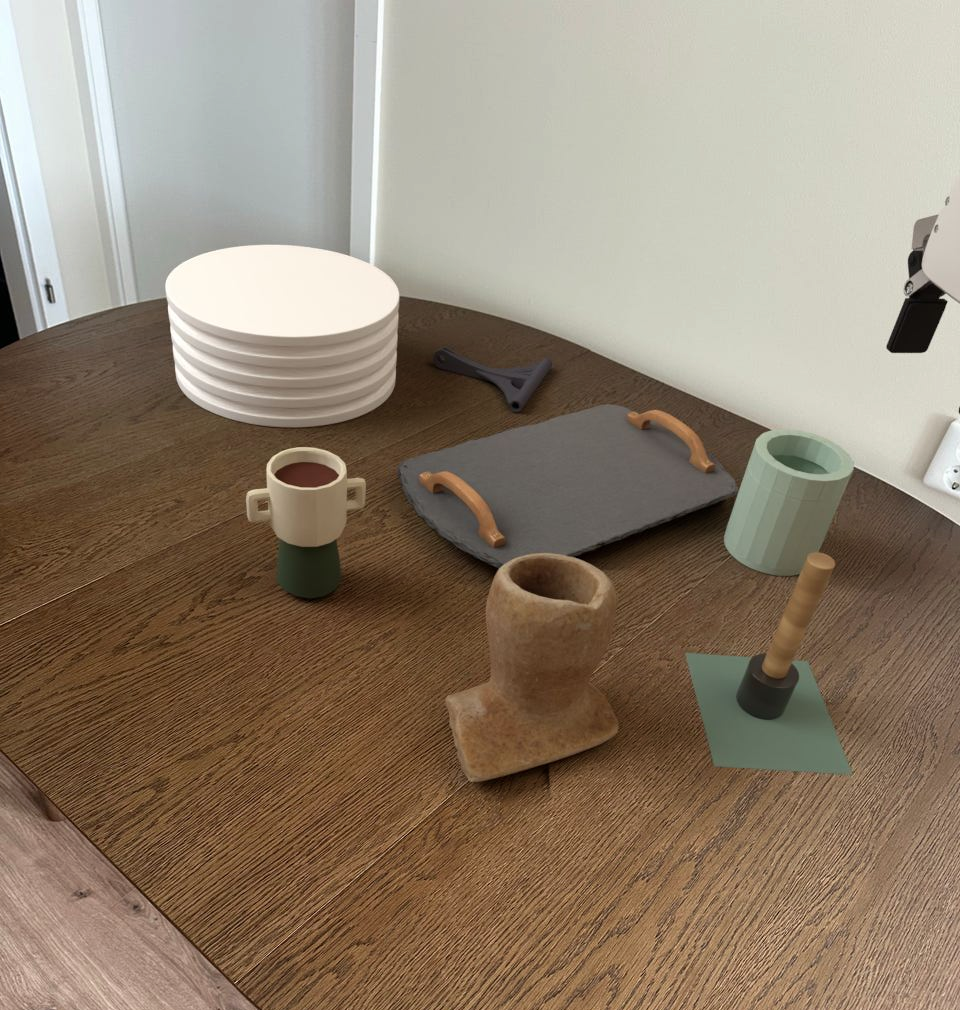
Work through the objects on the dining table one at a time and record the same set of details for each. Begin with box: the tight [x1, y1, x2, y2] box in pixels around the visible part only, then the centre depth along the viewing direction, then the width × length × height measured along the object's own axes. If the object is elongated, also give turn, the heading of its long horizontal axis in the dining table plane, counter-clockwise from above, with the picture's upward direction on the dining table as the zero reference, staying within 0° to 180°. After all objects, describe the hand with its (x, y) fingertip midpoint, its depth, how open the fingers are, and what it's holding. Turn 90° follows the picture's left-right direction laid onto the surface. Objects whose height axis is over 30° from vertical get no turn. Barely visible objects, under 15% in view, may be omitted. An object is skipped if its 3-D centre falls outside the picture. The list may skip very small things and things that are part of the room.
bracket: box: [432, 346, 553, 413], centre depth 127 cm, size 14×15×3 cm
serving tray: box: [396, 403, 740, 569], centre depth 106 cm, size 39×23×6 cm, turn 126°
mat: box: [684, 652, 854, 776], centre depth 84 cm, size 12×14×1 cm
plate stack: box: [164, 244, 400, 428], centre depth 119 cm, size 28×28×12 cm
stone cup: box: [444, 553, 619, 783], centre depth 75 cm, size 15×12×15 cm
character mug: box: [245, 446, 367, 599], centre depth 87 cm, size 11×7×13 cm, turn 111°
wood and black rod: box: [736, 551, 836, 720], centre depth 79 cm, size 4×4×16 cm
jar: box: [723, 428, 855, 577], centre depth 100 cm, size 10×10×12 cm
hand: (940, 381), depth 68 cm, fingers open, 9 cm apart
